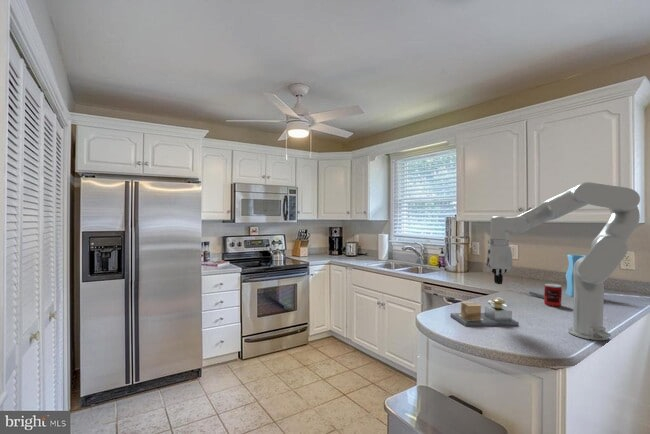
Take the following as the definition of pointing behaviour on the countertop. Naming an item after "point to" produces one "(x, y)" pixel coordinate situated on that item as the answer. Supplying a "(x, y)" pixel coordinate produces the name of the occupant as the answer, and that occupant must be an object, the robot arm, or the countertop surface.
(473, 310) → the oak block
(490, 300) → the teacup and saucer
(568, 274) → the vase
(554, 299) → the canned food
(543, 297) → the kitchen whisk
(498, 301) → the gold lobed piece
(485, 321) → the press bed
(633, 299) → the countertop surface
